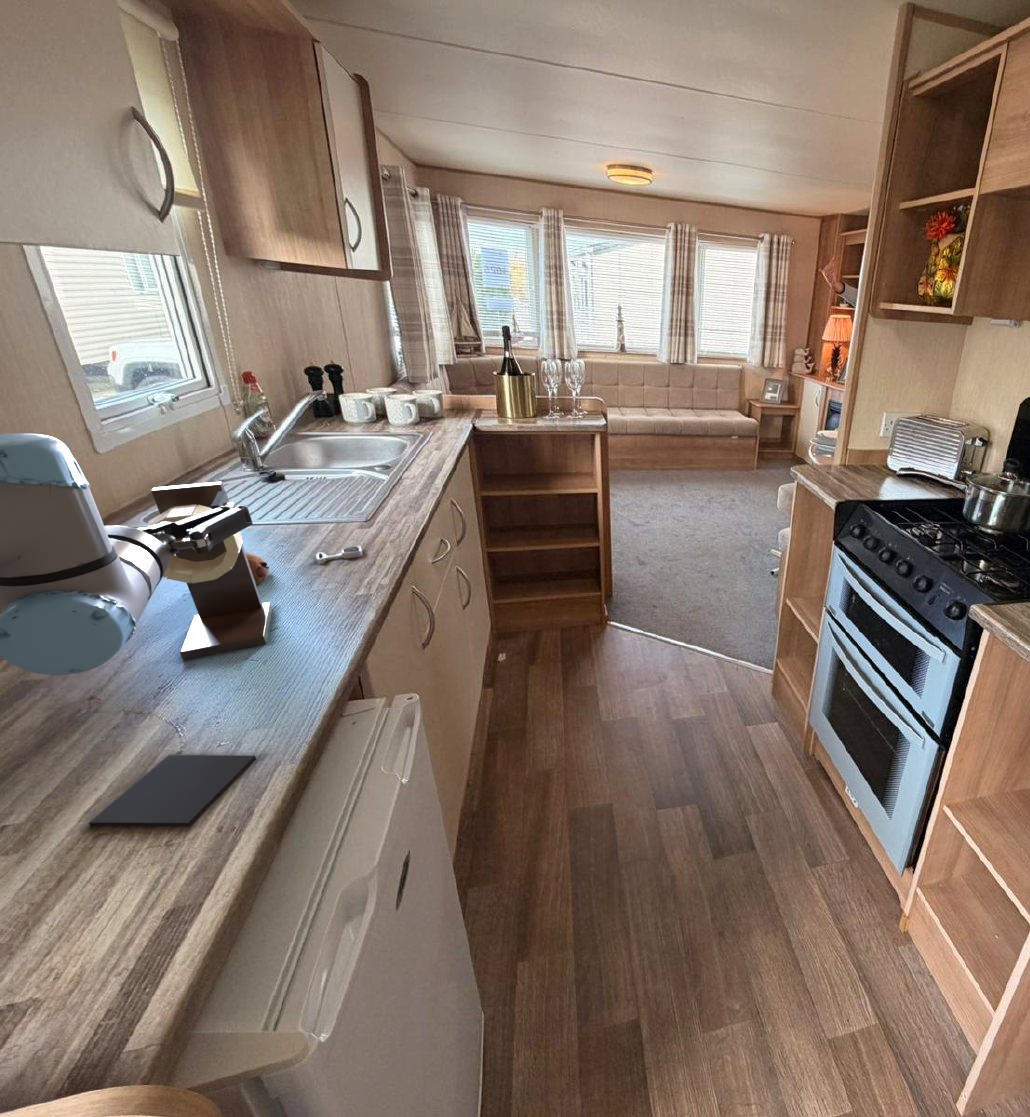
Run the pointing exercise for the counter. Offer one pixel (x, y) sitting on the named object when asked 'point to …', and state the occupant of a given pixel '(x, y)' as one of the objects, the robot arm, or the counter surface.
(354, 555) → the metal bottle opener
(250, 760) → the mat
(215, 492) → the stand
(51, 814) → the counter surface
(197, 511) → the tape roll
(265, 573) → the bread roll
